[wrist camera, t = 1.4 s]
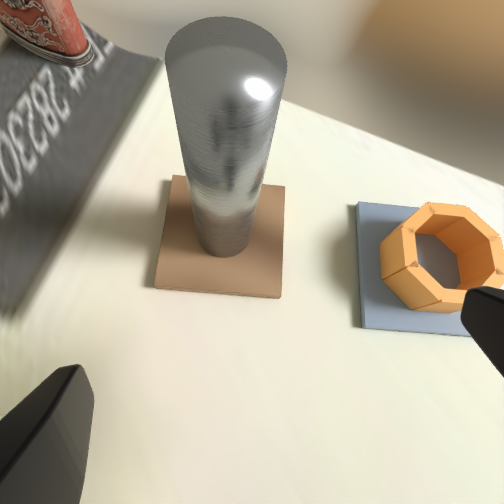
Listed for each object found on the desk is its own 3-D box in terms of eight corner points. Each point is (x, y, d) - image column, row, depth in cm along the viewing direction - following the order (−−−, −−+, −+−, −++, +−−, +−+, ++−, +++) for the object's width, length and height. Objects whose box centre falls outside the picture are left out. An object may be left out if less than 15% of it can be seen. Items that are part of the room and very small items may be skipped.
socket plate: (492, 338, 22) (542, 332, 18) (361, 328, 21) (388, 320, 18) (470, 217, 25) (509, 193, 22) (355, 205, 24) (377, 179, 21)
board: (279, 298, 21) (281, 295, 21) (156, 288, 21) (153, 285, 20) (283, 192, 24) (284, 186, 23) (174, 181, 24) (172, 174, 23)
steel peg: (249, 260, 21) (285, 114, 9) (193, 255, 21) (155, 99, 9) (252, 210, 23) (288, 24, 10) (200, 205, 22) (174, 9, 10)
